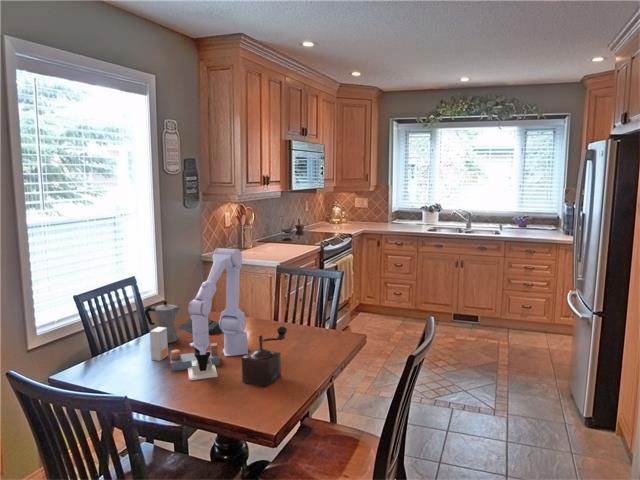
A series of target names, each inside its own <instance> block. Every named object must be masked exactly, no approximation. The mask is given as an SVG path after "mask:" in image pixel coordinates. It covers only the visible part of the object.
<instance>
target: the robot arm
mask: <svg viewBox="0 0 640 480" xmlns="http://www.w3.org/2000/svg"><path fill="white" fill-rule="evenodd" d="M212 262H213V263H212V265H211V269H210V271H209V275H208V276H207V279H206V280H205V281H204V282H202V283H201V285H200V287H199V290H198V292H197V293H196V296H195V298H194V299H192V300H190V302H189V304H188V308H187V311H188V313H189V316H190V319H192V330H193V334H192V342H190V343H189V346H190V347H192V348H193V350H194V352H193V353H194V355H195V357H196V359H197V361H198V365H199V369H200V371H206V368H207V362H208V358H209V356H210V354H211V353H210V352H206V351H207V349H208V347H209V346H210V343H211V342H210V335H209V330H208V319H209V315H210V313H211V310H212V303H213V302H212V300H213V298H214V296H215V293H216V291H217V282H218V281H219V279H220V278H221V276H222V273H223V272H224V271H226V290H225V291H226V293H225V297H226V299H225V309H224V310H223V311H221V312H220V317H219V321H218V323H219V327H220V329H221V330H222V332H221V333H223V343H224V348H223V349H222V352H223V354H224V357H225V358H226V357H234V356H243V355H247V354H249V350H248V348H249V345H248V332H247V330H246V325H247V321H246V315H245V314H246V313H245V312H244V311H243V310H242V309H240V307H239V306H240V274H241V269H242V267H243V266H242V264H243V253H242V252H241V250H240V249H238V248H222V247H217V248H215V250H214V251H213V255H212Z"/></svg>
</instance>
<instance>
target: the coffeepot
mask: <svg viewBox="0 0 640 480" xmlns="http://www.w3.org/2000/svg"><path fill="white" fill-rule="evenodd" d="M162 302H163V303H162V304H161V305H157V306H147V307H146V308H145V310H144V313H143V314H144V315H145V317H146V320H147V322H148V324H149V325H151V326H155V324H156V323H155V322H153V321H152V318H151V316H150V315H151V314H150V312H155V319H156V322H157V324H158V326H157V327H166V328H167V344H171V343H174V342H176V341H177V340H178V339H179V337H178V333H177V328H176V325H175V321H176V316H177V314H178V312H179V310H180V309H181V308H182V307H181V306H179V305H174V304H167V303H168V301H167V300H163V301H162Z"/></svg>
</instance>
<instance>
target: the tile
mask: <svg viewBox="0 0 640 480" xmlns="http://www.w3.org/2000/svg"><path fill="white" fill-rule="evenodd" d="M187 375H188V380H189V381H196V380H204V379H209V378H211V379H212V378H217V377H218V371H217V369H216V365H215V364H213V365H212V373H205V374H198V375H193V374H192V367H190V368H188V369H187Z"/></svg>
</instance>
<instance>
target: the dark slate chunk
mask: <svg viewBox="0 0 640 480" xmlns="http://www.w3.org/2000/svg"><path fill="white" fill-rule="evenodd" d="M178 329H180V330H182V329H183V330H182V331H184V330H185V332H188V333H190V334H192V335H193V330H192V319H191V318H190V319H188V320H187V321H185V322H184V323H181V324H180V325H179V326H178ZM208 330H209V336H212V335H216V334H219V333H223V332H222V330H221V329H220V327H219V321H215V320H213V319H210V318H208Z"/></svg>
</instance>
